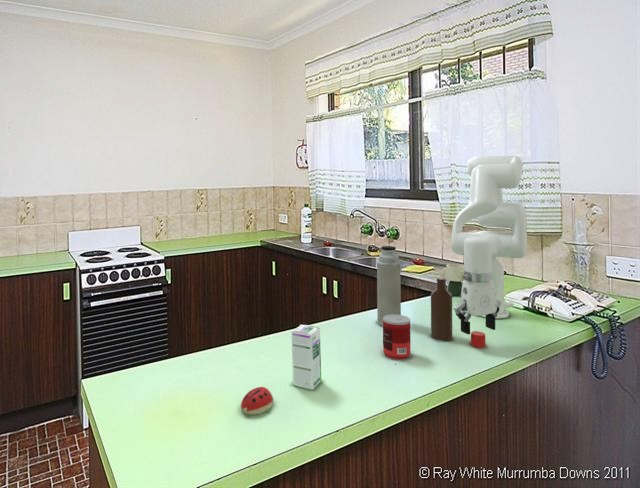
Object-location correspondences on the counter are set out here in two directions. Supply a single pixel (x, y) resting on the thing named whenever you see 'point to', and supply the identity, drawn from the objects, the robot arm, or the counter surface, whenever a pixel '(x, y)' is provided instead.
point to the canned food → (396, 336)
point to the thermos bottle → (388, 284)
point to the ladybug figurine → (257, 401)
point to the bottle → (441, 312)
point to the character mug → (454, 278)
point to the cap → (478, 339)
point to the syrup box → (306, 356)
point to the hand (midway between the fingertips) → (478, 330)
